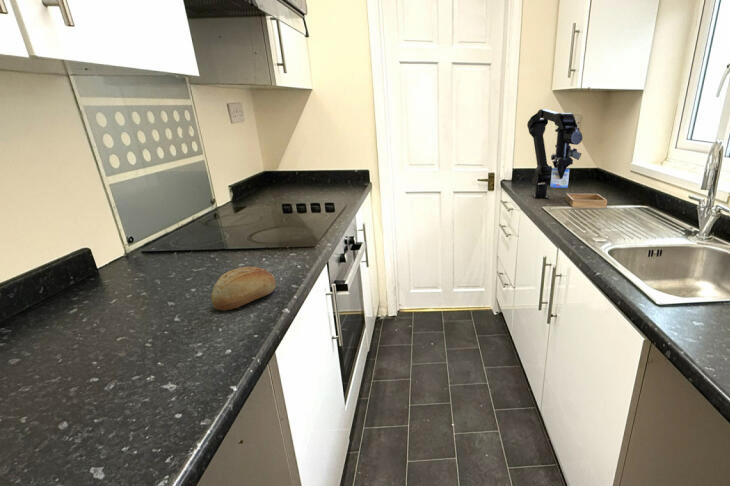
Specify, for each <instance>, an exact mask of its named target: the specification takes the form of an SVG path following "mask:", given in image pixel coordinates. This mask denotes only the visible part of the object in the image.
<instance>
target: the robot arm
mask: <svg viewBox="0 0 730 486" xmlns="http://www.w3.org/2000/svg"><path fill="white" fill-rule="evenodd" d="M549 122H553V123H554V125H555V126H556V127H557V128H556V129H555V131H554V132H555V133H556V144H555V153H552V154H551V155H550V160H551V161H552V165H553V166H552V165H549V163H548V159H547V158H548V157H547V152H546V145H545V139H544V134H545V131H546V126H547V125H548V124H549ZM526 125H527V129H528V134H529V135H530V136H531V137H532V138H533V139H532V140H533V145H534V154H535V160H536V168H535V171H534V176H533V178H532V179H531V185H532V186H535V188H534V189H535V191H534V194H533V198H534V199H549V197H548V196H547V193H548V186H550V184H551V174H552V168H557V170H558V174H559V178H560V179H562V178H563V175H564V173H565V170H566V168H569V167H570V166H571V165H573V164H574V159H575V160H577V161H580V158H581V157H582V152H579V151H578V149H577V148H575V147H573V148H572V146H571V145H575V146H577V145H579V144H581V143H582V141H583V138H584V137H583V134H582V132H581V131H580V127H578V124H577V122H576V117H575V116H574V113H572V112H558V111H553V110H550V109H549V108H540V109H539V110H538V111H537V112H536V113H534V114H533V115H532V116H531V117H530V118H529V120H528V121H527V123H526Z"/></svg>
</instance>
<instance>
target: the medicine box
mask: <svg viewBox="0 0 730 486" xmlns="http://www.w3.org/2000/svg"><path fill="white" fill-rule="evenodd" d="M570 169H571V168H569V167H567V168H566V170H565V173H564V175H563V178H562V179H560V178H559V174H558V170H557V168H554V167H552V174H551V184H550V185H549V186H550V188H551V189H553V188H554V189H557V188H558V189H568V186H569V178H570Z"/></svg>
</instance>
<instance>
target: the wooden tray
mask: <svg viewBox="0 0 730 486" xmlns="http://www.w3.org/2000/svg"><path fill="white" fill-rule="evenodd" d="M565 202H567V204H568V205H569V206H570V207H572V208H607V206H608V200H607V199H606V198H605V197H603V196H602V195H601V194H599V193H565Z"/></svg>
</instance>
